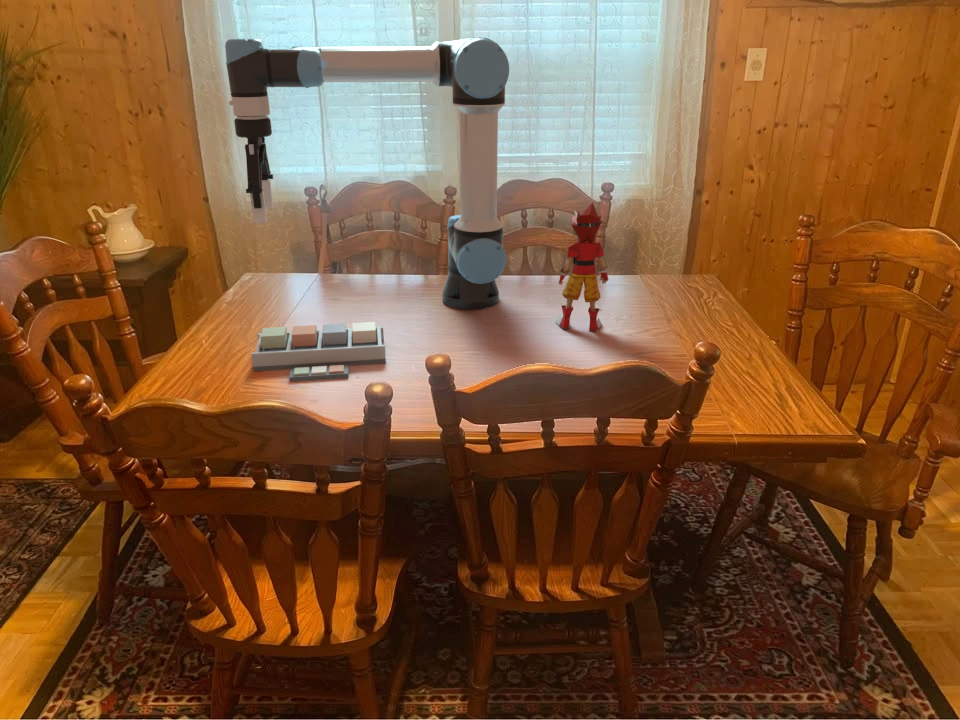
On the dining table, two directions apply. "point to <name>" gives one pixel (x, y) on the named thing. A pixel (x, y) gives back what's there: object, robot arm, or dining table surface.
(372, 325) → the key cream
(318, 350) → the grey base
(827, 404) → the dining table surface
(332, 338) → the key slate
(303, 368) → the plaque
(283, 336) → the key sage
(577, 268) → the toy
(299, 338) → the key terracotta
